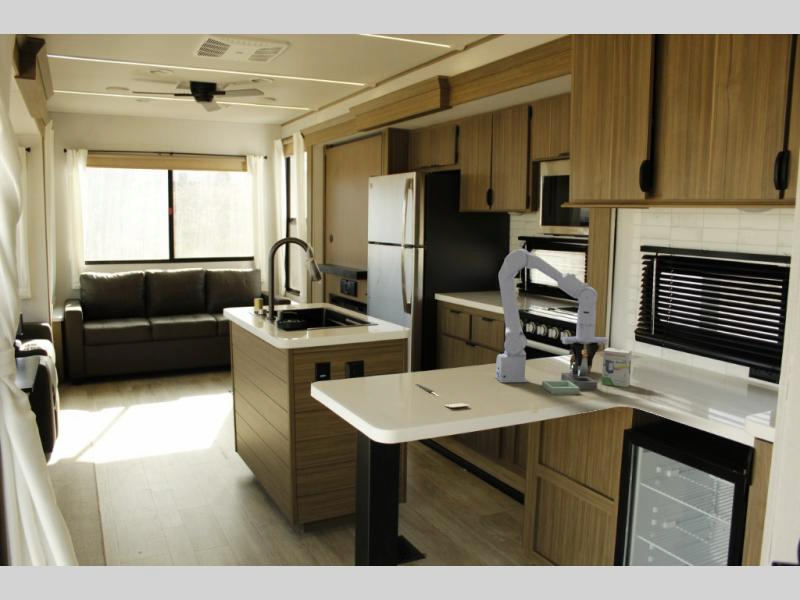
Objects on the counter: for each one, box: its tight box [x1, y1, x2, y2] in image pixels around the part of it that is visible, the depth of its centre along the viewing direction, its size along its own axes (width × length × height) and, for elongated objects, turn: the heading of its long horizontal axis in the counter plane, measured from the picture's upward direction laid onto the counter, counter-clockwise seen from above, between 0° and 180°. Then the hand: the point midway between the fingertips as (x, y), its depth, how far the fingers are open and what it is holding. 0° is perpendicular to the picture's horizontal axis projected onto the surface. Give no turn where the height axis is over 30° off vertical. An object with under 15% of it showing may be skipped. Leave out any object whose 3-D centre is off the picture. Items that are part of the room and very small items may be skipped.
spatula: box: [415, 383, 471, 408], centre depth 208 cm, size 6×29×2 cm, turn 24°
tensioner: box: [560, 362, 598, 391], centre depth 226 cm, size 7×13×7 cm, turn 8°
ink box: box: [601, 347, 633, 388], centre depth 228 cm, size 9×5×12 cm, turn 62°
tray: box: [541, 380, 581, 395], centre depth 218 cm, size 9×9×2 cm
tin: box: [569, 349, 594, 374], centre depth 242 cm, size 15×3×8 cm, turn 143°
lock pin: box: [578, 352, 589, 377], centre depth 223 cm, size 3×3×8 cm
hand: (583, 365), depth 223 cm, fingers closed on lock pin, 3 cm apart
